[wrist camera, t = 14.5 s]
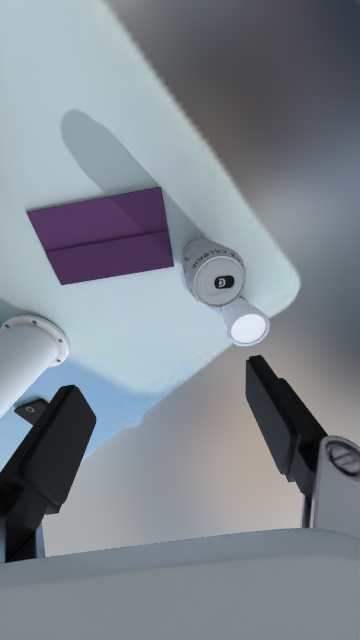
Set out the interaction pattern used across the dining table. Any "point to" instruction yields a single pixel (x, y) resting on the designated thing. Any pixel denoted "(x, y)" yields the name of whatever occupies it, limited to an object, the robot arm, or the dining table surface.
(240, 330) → the shot glass
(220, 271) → the energy drink can
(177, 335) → the dining table surface
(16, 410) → the cell phone
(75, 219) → the napkin
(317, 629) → the robot arm
